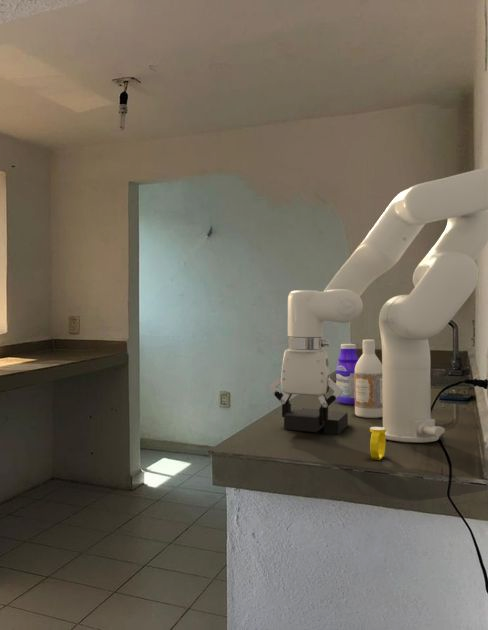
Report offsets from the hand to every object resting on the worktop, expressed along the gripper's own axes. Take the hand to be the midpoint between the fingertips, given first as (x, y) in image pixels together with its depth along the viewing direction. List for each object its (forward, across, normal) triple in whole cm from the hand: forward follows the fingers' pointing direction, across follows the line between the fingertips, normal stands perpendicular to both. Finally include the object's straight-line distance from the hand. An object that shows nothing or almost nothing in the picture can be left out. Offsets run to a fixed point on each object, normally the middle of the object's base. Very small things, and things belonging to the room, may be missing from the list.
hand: (304, 421), depth 148 cm
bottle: (+3, -1, -51) cm, 51 cm away
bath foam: (+3, -9, -32) cm, 33 cm away
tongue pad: (+1, 0, -1) cm, 2 cm away
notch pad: (+3, 0, -11) cm, 11 cm away
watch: (+3, -17, +15) cm, 23 cm away
